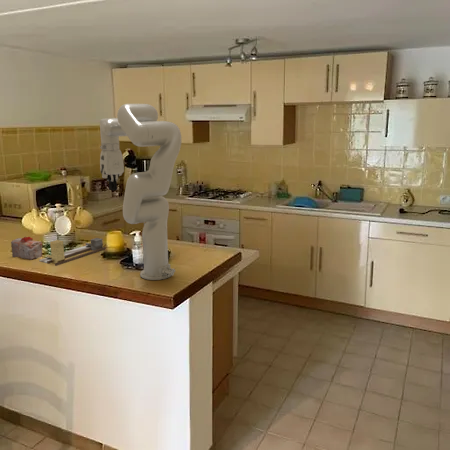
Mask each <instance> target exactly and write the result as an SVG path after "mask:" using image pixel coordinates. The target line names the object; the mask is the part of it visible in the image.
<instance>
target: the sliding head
mask: <svg viewBox="0 0 450 450" xmlns="http://www.w3.org/2000/svg"><path fill="white" fill-rule="evenodd" d="M49 244H50V254H46V258H47V257H49V258H52V264H55V263H57V262H60V261H63V260H66V258H65V257H64V252H65V249H64V248H65V247H64V241H63V240H60V239H56V240H53V241H50V242H49Z"/></svg>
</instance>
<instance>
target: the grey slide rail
mask: <svg viewBox="0 0 450 450" xmlns="http://www.w3.org/2000/svg"><path fill="white" fill-rule="evenodd" d="M105 249H106V250H107V248H106V247H105V246H104V245H103V238H99V237H95V238H92V239H90V243H88V242H85V244H84V245H83V246H79V247H76V248H73V249H71V250H66V251H64V257H65V260H63V261H60V262H57V263H54V266H56V267H57V266H60V265H63V264H66V263H69V262H72V261H75V260H77V259H81V258H84V257H87V256H90V255H94V254H96V253H99V252H102V251H105ZM79 254H80V255H79ZM39 262H41V263H45V264H48V265H49V264H51V263H52V258H49V257H47V256H46V257H45V258H42V259H39ZM52 264H53V263H52Z"/></svg>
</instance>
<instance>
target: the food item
mask: <svg viewBox="0 0 450 450" xmlns="http://www.w3.org/2000/svg"><path fill="white" fill-rule="evenodd" d="M42 242H43V241H39V240H33V237H31V236H24V237H19V238H16V239H12V240H11V241H10V246H11V253H12V254H11V255H12V258H16V257H18V258H21V259H24V260H31V261H32V260H33V259H39V258H41V257H43V243H42Z"/></svg>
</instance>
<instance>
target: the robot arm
mask: <svg viewBox="0 0 450 450" xmlns="http://www.w3.org/2000/svg"><path fill="white" fill-rule="evenodd" d="M158 119H159V113H158V110H157V109H156V107H155V106H153V105H152V104H149V103H124V104H122V105H120V107H119V108H118V109H117V114H116V117H111V118H110V117H109V118H108V117H107V118H106V117H105V118H101V119H100V120H99V128H100V129H99V131H100V147H99V148H100V150H101V151H100V155H99V157H100V158H99V166H100V167H99V170H100V173H101V177H102V178H103V179H106V180H107V182H108V190H109V191H117V190H118V179H119V177H120V176H122V175H123V173H124V172H125V167H124V166H125V164H124V158H123V153H122V151H121V149H120V137H128V139H129V141H130V142H131V143H132V144H133V145H134V146H135V147H136V146H137V147H141V148H142V147H157V146H158V147H159V146H160V147H159V148H158V149H157V150H156V151H155V152H154V154H153V155H152V157H151V159H150V161H149V167H148V170H146V171H142V172H139V171H138V172H134V173H132V174H130V175H129V176H128V178H127V180H126V184H125V188H124V189H125V190H124V196H123V203H122V204H123V205H122V217H123V219H124V221H125V222H126V223H127V224H131V225H138V224H144V223H146V224H145V226H144V225H143V227H142V233H141V234H142V236H141V237H142V244H143V250H142V257H143V270H140V272H139V276H140V278H141V279H144V280H148V281H159V280H166V279H169V278H170V277H173V276H174V274H175V273H176V269H175V268H171V264H170V263H169V250H168V249H169V248H168V247H169V246H168V218H169V211H170V205H169V204H170V203H169V201H168V199H167V198H166V197H164V196H166V195H167V194H168V193H169V190H170V187H171V182H172V177H173V173H174V169H175V164H176V161H177V159H178V156H179V153H180V150H181V147H182V132H181V130H180V128H179V126H178V125H177V124H176V123H175V122H172V121H165V120H158Z"/></svg>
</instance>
